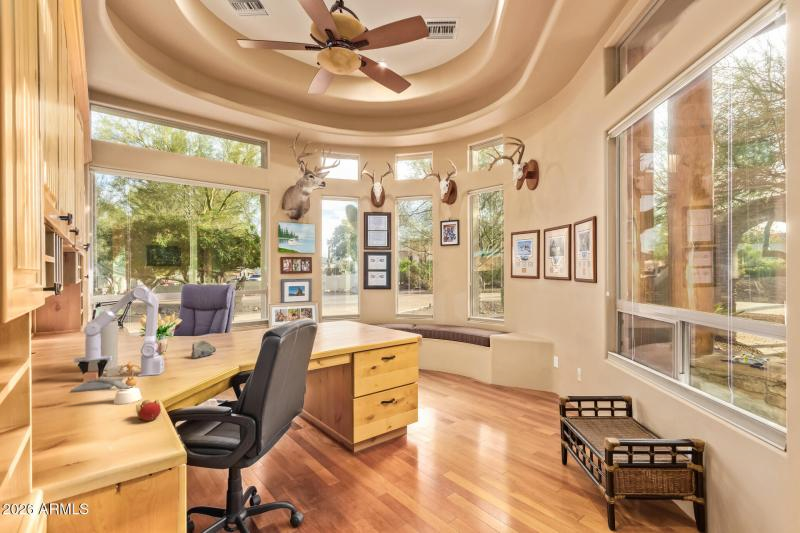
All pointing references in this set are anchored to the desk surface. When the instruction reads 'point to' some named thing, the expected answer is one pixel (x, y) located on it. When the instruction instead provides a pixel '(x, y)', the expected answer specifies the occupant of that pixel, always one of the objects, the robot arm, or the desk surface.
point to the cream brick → (115, 370)
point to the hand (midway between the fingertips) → (93, 376)
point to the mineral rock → (202, 349)
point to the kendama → (148, 410)
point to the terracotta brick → (90, 375)
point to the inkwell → (126, 392)
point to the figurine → (129, 366)
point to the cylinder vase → (108, 345)
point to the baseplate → (93, 386)
